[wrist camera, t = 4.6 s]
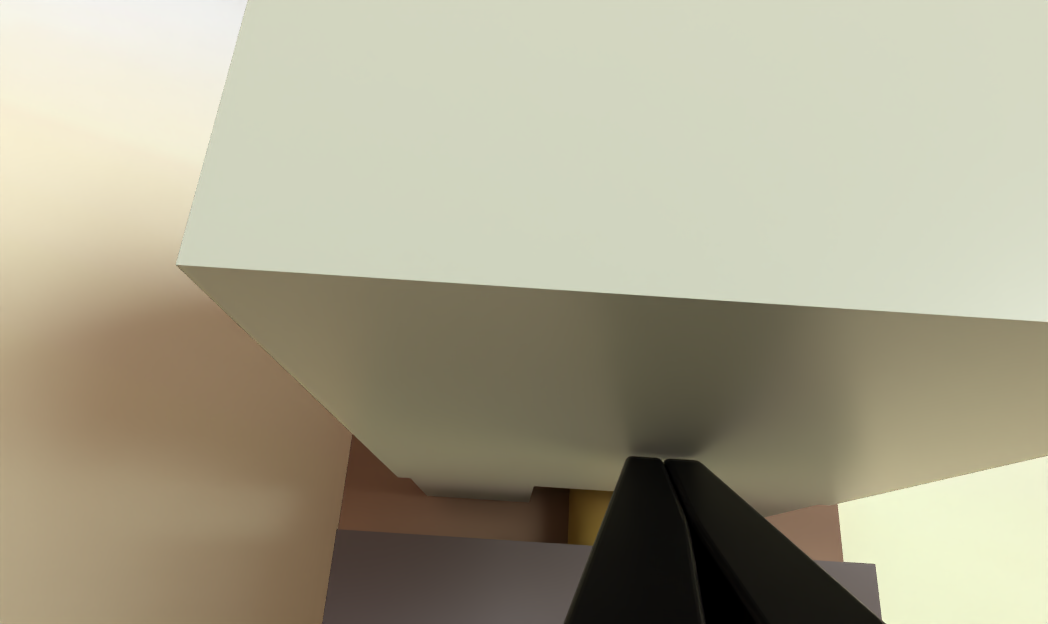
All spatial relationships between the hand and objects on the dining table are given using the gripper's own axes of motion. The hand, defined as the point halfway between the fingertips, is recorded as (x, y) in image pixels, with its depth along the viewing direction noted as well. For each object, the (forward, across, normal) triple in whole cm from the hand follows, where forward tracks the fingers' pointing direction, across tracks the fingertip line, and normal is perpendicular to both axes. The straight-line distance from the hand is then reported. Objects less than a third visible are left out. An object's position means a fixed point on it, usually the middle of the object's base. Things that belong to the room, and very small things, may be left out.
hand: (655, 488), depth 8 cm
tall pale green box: (+6, 0, +2) cm, 6 cm away
